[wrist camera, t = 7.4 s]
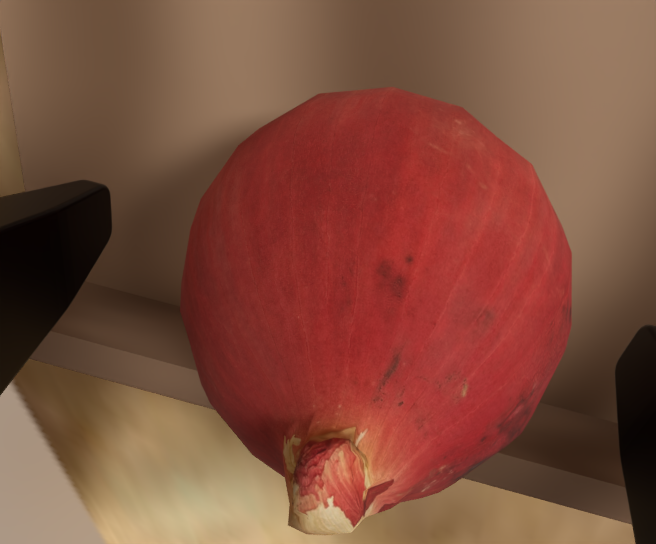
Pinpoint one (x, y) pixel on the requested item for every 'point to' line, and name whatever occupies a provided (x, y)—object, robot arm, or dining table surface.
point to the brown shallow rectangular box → (336, 76)
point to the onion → (375, 299)
